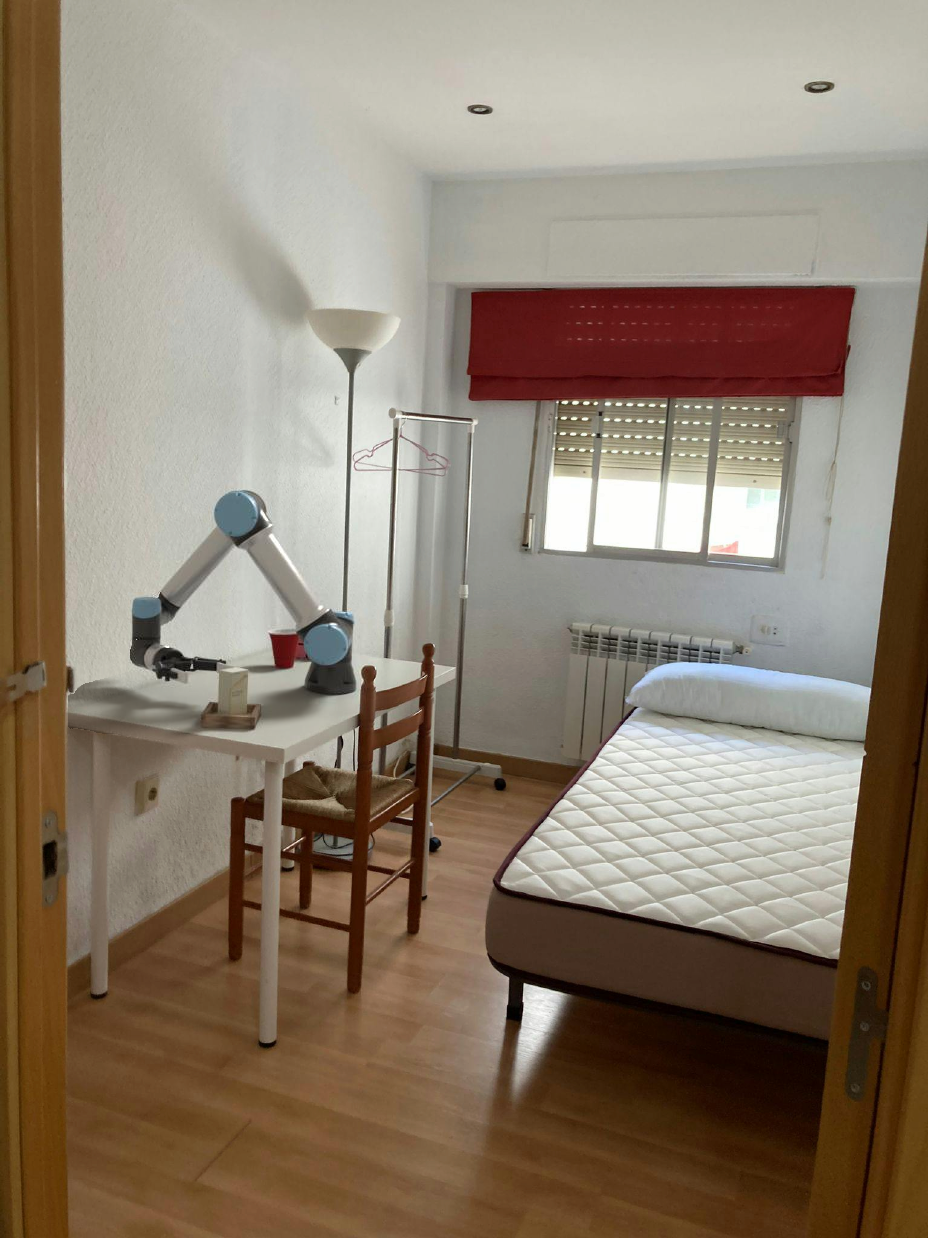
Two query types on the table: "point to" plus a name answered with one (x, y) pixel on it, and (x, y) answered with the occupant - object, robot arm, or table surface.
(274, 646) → the plastic cup
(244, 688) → the skincare box
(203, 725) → the tray
